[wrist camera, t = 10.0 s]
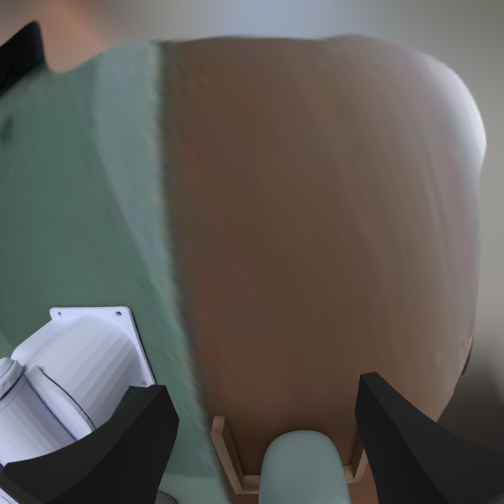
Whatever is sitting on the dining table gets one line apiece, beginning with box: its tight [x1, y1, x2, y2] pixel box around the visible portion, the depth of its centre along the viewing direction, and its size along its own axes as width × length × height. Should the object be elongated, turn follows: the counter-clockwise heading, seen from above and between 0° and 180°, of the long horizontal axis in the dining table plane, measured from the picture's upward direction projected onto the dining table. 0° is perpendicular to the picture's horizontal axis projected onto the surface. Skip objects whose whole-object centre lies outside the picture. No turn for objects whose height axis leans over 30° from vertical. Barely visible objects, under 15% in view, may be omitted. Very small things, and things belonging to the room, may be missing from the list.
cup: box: [258, 430, 351, 504], centre depth 18 cm, size 8×8×10 cm
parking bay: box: [211, 416, 368, 494], centre depth 22 cm, size 15×14×2 cm
